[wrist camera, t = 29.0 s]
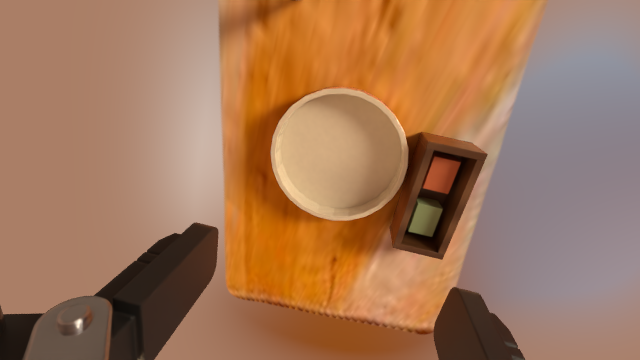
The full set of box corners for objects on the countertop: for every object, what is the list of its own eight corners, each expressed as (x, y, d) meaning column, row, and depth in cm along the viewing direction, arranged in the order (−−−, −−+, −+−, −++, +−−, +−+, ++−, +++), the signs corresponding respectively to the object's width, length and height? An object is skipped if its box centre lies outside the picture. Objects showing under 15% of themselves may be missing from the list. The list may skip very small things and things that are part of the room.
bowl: (287, 73, 35) (280, 74, 32) (422, 102, 34) (427, 105, 31) (270, 194, 41) (263, 204, 38) (384, 222, 40) (386, 233, 37)
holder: (420, 131, 35) (429, 141, 31) (472, 142, 35) (488, 154, 30) (389, 227, 40) (392, 247, 36) (433, 238, 40) (442, 259, 35)
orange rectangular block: (429, 150, 35) (434, 156, 33) (455, 156, 35) (461, 162, 33) (419, 180, 36) (422, 188, 34) (443, 186, 36) (448, 194, 34)
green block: (414, 195, 37) (418, 203, 35) (438, 200, 37) (443, 209, 35) (405, 222, 39) (408, 231, 37) (428, 227, 39) (432, 237, 36)
